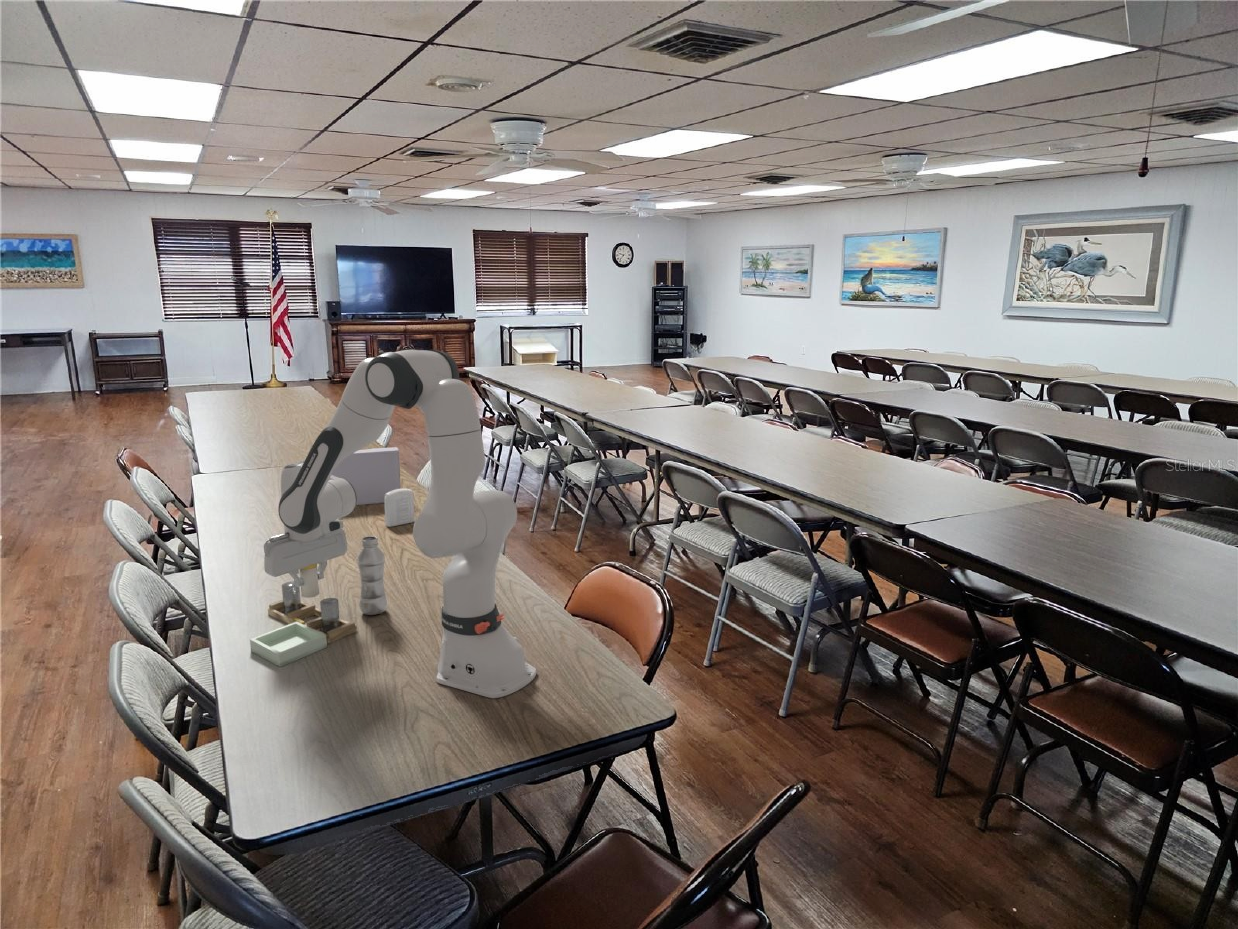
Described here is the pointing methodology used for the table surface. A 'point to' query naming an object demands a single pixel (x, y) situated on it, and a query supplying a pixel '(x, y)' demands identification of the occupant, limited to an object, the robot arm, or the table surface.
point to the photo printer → (399, 507)
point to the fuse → (309, 581)
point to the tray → (288, 643)
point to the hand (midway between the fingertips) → (309, 582)
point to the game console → (371, 473)
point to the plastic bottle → (371, 577)
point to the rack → (315, 624)
